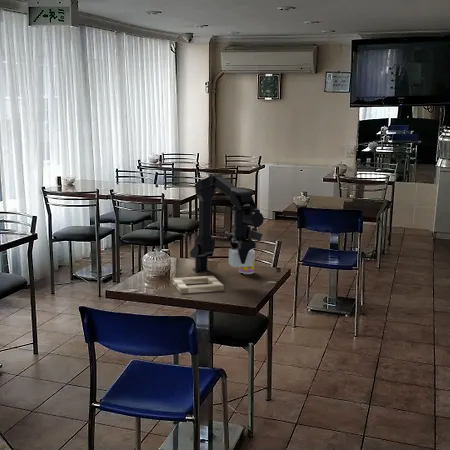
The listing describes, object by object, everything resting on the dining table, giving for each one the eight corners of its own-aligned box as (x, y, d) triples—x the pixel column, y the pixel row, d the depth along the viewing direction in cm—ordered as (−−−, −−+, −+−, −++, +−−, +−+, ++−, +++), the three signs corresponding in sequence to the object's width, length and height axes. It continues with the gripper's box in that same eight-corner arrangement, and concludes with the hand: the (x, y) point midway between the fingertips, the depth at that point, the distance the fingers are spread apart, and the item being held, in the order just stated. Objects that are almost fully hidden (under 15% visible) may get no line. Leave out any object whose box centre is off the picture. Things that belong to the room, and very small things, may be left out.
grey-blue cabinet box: (228, 263, 243) (228, 248, 241) (247, 262, 245) (247, 247, 244) (233, 267, 237) (233, 251, 236) (252, 266, 239) (252, 250, 238)
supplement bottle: (237, 274, 260) (237, 244, 257) (240, 270, 266) (241, 241, 264) (252, 275, 258) (253, 245, 256) (255, 271, 264) (256, 242, 262)
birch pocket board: (172, 283, 244) (172, 278, 244) (212, 280, 249) (213, 275, 249) (180, 293, 230) (180, 288, 230) (223, 290, 235) (223, 285, 234)
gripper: (269, 226, 231) (268, 266, 234) (252, 218, 249) (251, 255, 252) (241, 227, 228) (240, 268, 231) (226, 219, 246) (226, 257, 249)
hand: (240, 261), depth 241 cm, fingers closed on grey-blue cabinet box, 6 cm apart
